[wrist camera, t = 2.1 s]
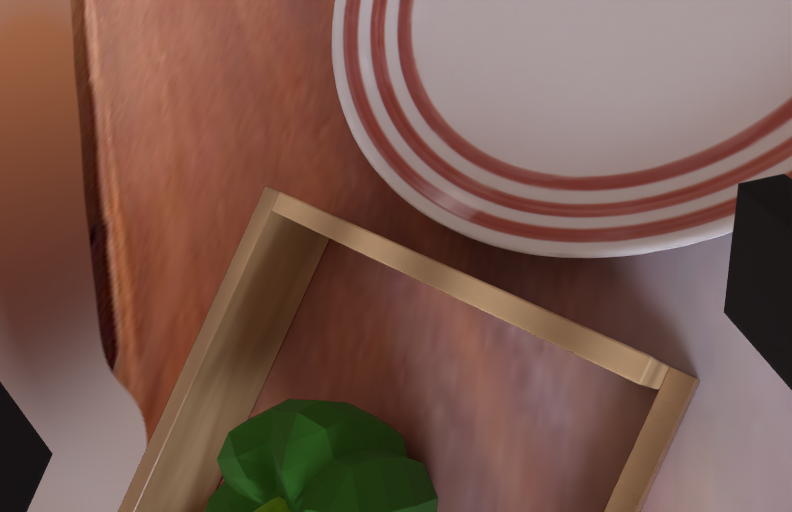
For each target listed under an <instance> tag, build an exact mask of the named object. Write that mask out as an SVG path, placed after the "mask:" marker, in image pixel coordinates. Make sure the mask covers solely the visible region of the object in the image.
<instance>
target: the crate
mask: <svg viewBox="0 0 792 512" xmlns="http://www.w3.org/2000/svg"><path fill="white" fill-rule="evenodd" d="M329 239H332V240H334V241H337V242H339V243H341V244H343V245H345V246H347V247H349V248H351V249H353V250H356V251H358V252H360V253H362V254H364V255H366V256H368V257H370V258H372V259H375V260H377V261H379V262H381V263H383V264H385V265H387V266H389V267H392V268H394V269H396V270H398V271H400V272H402V273H404V274H406V275H408V276H411V277H413V278H415V279H417V280H419V281H421V282H423V283H425V284H428V285H430V286H432V287H434V288H436V289H438V290H440V291H442V292H444V293H447V294H449V295H451V296H453V297H455V298H457V299H459V300H461V301H463V302H466V303H468V304H470V305H472V306H474V307H476V308H478V309H480V310H483V311H485V312H487V313H489V314H491V315H493V316H495V317H497V318H499V319H502V320H504V321H506V322H508V323H510V324H512V325H514V326H516V327H518V328H521V329H523V330H525V331H527V332H529V333H531V334H533V335H535V336H538V337H540V338H542V339H544V340H546V341H548V342H550V343H552V344H554V345H557V346H559V347H561V348H563V349H565V350H567V351H569V352H571V353H573V354H576V355H578V356H580V357H582V358H584V359H586V360H588V361H590V362H593V363H595V364H597V365H599V366H601V367H603V368H605V369H607V370H609V371H612V372H614V373H616V374H618V375H620V376H622V377H624V378H626V379H629V380H631V381H633V382H635V383H637V384H640V385H643V386H647V387H650V388H653V389H657V390H659V391H658V393H657V395H656V397H655V400H654V402H653V404H652V406H651V408H650V411H649V413H648V415H647V417H646V419H645V422H644V424H643V426H642V428H641V430H640V433H639V435H638V437H637V439H636V441H635V443H634V446H633V448H632V450H631V452H630V454H629V457H628V459H627V461H626V463H625V465H624V468H623V470H622V472H621V474H620V476H619V479H618V481H617V483H616V485H615V487H614V489H613V492H612V494H611V496H610V498H609V500H608V503H607V505H606V507H605V509H604V511H603V512H640V511H641V509H642V506H643V504H644V502H645V500H646V498H647V496H648V493H649V491H650V489H651V487H652V485H653V482H654V480H655V478H656V476H657V474H658V471H659V469H660V467H661V465H662V463H663V461H664V458H665V456H666V454H667V452H668V450H669V447H670V445H671V443H672V441H673V439H674V436H675V434H676V432H677V430H678V428H679V425H680V423H681V421H682V419H683V417H684V415H685V412H686V410H687V408H688V406H689V404H690V401H691V399H692V397H693V395H694V393H695V390H696V388H697V386H698V384H699V382H700V380H699V379H697V378H696V377H693V376H691V375H689V374H687V373H684V372H682V371H680V370H678V369H675V368H673V367H670V366H668V365H667V364H665V363H663V362H661V361H659V360H658V359H656V358H654V357H652V356H650V355H648V354H646V353H644V352H641V351H639V350H637V349H634V348H632V347H630V346H628V345H625V344H623V343H621V342H619V341H616V340H614V339H612V338H610V337H607V336H605V335H603V334H601V333H598V332H596V331H594V330H592V329H589V328H587V327H585V326H583V325H580V324H578V323H576V322H574V321H571V320H569V319H567V318H565V317H562V316H560V315H558V314H556V313H553V312H551V311H549V310H546V309H544V308H542V307H540V306H537V305H535V304H533V303H531V302H528V301H526V300H524V299H522V298H519V297H517V296H515V295H513V294H510V293H508V292H506V291H504V290H501V289H499V288H497V287H495V286H492V285H490V284H488V283H486V282H483V281H481V280H479V279H477V278H474V277H472V276H470V275H468V274H465V273H463V272H461V271H458V270H456V269H454V268H452V267H449V266H447V265H445V264H443V263H440V262H438V261H436V260H434V259H431V258H429V257H427V256H425V255H422V254H420V253H418V252H416V251H413V250H411V249H409V248H407V247H404V246H402V245H400V244H398V243H395V242H393V241H391V240H389V239H386V238H384V237H382V236H380V235H377V234H375V233H373V232H370V231H368V230H366V229H364V228H361V227H359V226H357V225H355V224H352V223H350V222H348V221H346V220H343V219H341V218H339V217H337V216H334V215H332V214H330V213H328V212H325V211H323V210H321V209H319V208H316V207H314V206H312V205H310V204H307V203H305V202H303V201H301V200H298V199H296V198H294V197H291V196H289V195H287V194H285V193H282V192H280V191H278V190H276V189H273V188H271V187H269V186H265V188H264V190H263V192H262V194H261V197H260V199H259V201H258V203H257V206H256V208H255V210H254V212H253V214H252V217H251V219H250V221H249V223H248V225H247V228H246V230H245V232H244V234H243V236H242V239H241V241H240V243H239V245H238V248H237V250H236V252H235V254H234V256H233V259H232V261H231V263H230V265H229V267H228V270H227V272H226V274H225V276H224V278H223V281H222V283H221V285H220V287H219V289H218V292H217V294H216V296H215V298H214V301H213V303H212V305H211V307H210V309H209V312H208V314H207V316H206V318H205V320H204V323H203V325H202V327H201V329H200V331H199V334H198V336H197V338H196V340H195V343H194V345H193V347H192V349H191V351H190V354H189V356H188V358H187V360H186V362H185V365H184V367H183V369H182V371H181V373H180V376H179V378H178V380H177V382H176V384H175V387H174V389H173V391H172V393H171V396H170V398H169V400H168V402H167V404H166V407H165V409H164V411H163V413H162V415H161V418H160V420H159V422H158V424H157V426H156V429H155V431H154V433H153V435H152V438H151V440H150V442H149V444H148V446H147V449H146V451H145V453H144V455H143V457H142V460H141V462H140V464H139V466H138V468H137V471H136V473H135V475H134V477H133V480H132V482H131V484H130V486H129V488H128V491H127V493H126V495H125V497H124V500H123V502H122V504H121V506H120V508H119V511H118V512H205V509H206V506H207V503H208V500H209V498H210V497H211V496H212V495H213V494H214V493H215V490H216V488H217V486H218V484H219V482H220V479H221V477H222V472H221V470H220V467H219V464H218V461H217V458H218V455H219V453H220V451H221V448H222V446H223V444H224V442H225V439H226V437H227V435H228V432H230V431H231V430H233V429H234V428H236V427H237V426H239V425H240V424H242V423H243V422H245V421H247V420H248V418H249V415H250V413H251V411H252V409H253V407H254V404H255V402H256V400H257V398H258V396H259V393H260V391H261V389H262V387H263V385H264V382H265V380H266V378H267V376H268V374H269V371H270V369H271V367H272V365H273V362H274V360H275V358H276V356H277V354H278V351H279V349H280V347H281V345H282V343H283V340H284V338H285V336H286V334H287V332H288V329H289V327H290V325H291V323H292V321H293V318H294V316H295V314H296V312H297V310H298V307H299V305H300V303H301V301H302V299H303V296H304V294H305V292H306V290H307V287H308V285H309V283H310V281H311V279H312V276H313V274H314V272H315V270H316V268H317V265H318V263H319V261H320V259H321V257H322V254H323V252H324V250H325V248H326V246H327V243H328V241H329Z"/></svg>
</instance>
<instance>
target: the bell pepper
mask: <svg viewBox="0 0 792 512" xmlns="http://www.w3.org/2000/svg"><path fill="white" fill-rule="evenodd" d="M217 461H218V464H219V467H220V470H221V472H222V475H223V478H224V481H225V482H224V483H223V484H222V485H221V486H220V487H219V488H218V490H217V491H216V492H215V493H214V494H213V495H212V496H211V497H210V498H209V500H208V503H207V506H206V509H205V512H437V503H438V497H437V494H436V492H435V489H434V487H433V485H432V482H431V480H430V477H429V475H428V472H427V470H426V467H425V465H424V463H421V462H419V461H416V460H413V459H410V458H408V457H407V452H406V447H405V443H404V440H403V437H402V435H401V434H399V433H398V432H397V431H396V430H394V429H393V428H392V427H391V426H389V425H388V424H387V423H385V422H383V421H382V420H380V419H379V418H377V417H375V416H374V415H372V414H370V413H368V412H366V411H364V410H362V409H360V408H357V407H355V406H353V405H351V404H349V403H344V402H333V401H321V400H298V399H287V400H286V401H284V402H282V403H280V404H278V405H276V406H274V407H272V408H270V409H268V410H266V411H264V412H262V413H261V414H259V415H257V416H255V417H253V418H251V419H249V420H247V421H245V422H243V423H242V424H240V425H239V426H237V427H236V428H234V429H233V430H231V431H230V432H228V435H227V437H226V439H225V442H224V444H223V446H222V448H221V451H220V453H219V455H218V458H217Z"/></svg>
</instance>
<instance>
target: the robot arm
mask: <svg viewBox="0 0 792 512" xmlns="http://www.w3.org/2000/svg"><path fill="white" fill-rule="evenodd" d="M724 313H725V314H726V315H727V316H728V317H729V319H730V320H731V321H732V322H733V323H734V324H735V325H736V327H737V328H738V329H739V330H740V331H741V332H742V333H743V335H744V336H745V337H746V338H747V339H748V340H749V342H750V343H751V344H752V345H753V346H754V347H755V348H756V350H757V351H758V352H759V353H760V354H761V355H762V356H763V358H764V359H765V360H766V361H767V362H768V363H769V365H770V366H771V367H772V368H773V369H774V370H775V371H776V373H777V374H778V375H779V376H780V377H781V378H782V379H783V381H784V382H785V383H786V384H787V385H788V386H789V387H790V389H791V390H792V179H791V178H790V177H788V176H787V175H785V174H780V175H775V176H770V177H766V178H761V179H757V180H752V181H747V182H743V183H738V190H737V199H736V208H735V217H734V226H733V235H732V244H731V253H730V262H729V271H728V280H727V289H726V298H725V307H724ZM51 456H52V452H51V451H50V450H49V448H48V447H47V446H46V444H45V443H44V441H43V440H42V439H41V437H40V436H39V434H38V433H37V432H36V430H35V429H34V428H33V426H32V425H31V423H30V422H29V421H28V419H27V418H26V417H25V415H24V414H23V412H22V411H21V410H20V408H19V407H18V406H17V404H16V403H15V401H14V400H13V399H12V397H11V396H10V395H9V393H8V392H7V390H6V389H5V388H4V386H3V385H2V383H1V382H0V512H27V510H28V508H29V505H30V503H31V501H32V499H33V497H34V494H35V492H36V490H37V488H38V485H39V483H40V481H41V479H42V476H43V474H44V472H45V469H46V467H47V465H48V463H49V461H50V458H51Z"/></svg>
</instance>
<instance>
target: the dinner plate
mask: <svg viewBox="0 0 792 512" xmlns="http://www.w3.org/2000/svg"><path fill="white" fill-rule="evenodd" d="M332 62H333V70H334V76H335V82H336V87H337V93H338V97H339V100H340V103H341V107H342V110H343V112H344V115H345V118H346V120H347V123H348V125H349V127H350V130H351V132H352V135H353V137H354V139H355V140H356V142H357V144H358V146H359V147H360V149H361V151H362V152H363V154H364V155H365V157H366V158H367V160H368V161H369V163H370V164H371V166H372V167H373V168H374V169H375V170H376V172H377V173H378V174H379V175H380V176H381V177H382V178H383V179H384V181H385V182H386V183H387V184H388V185H389V186H390V187H391V188H392V189H393V190H394V191H395V192H396V193H397V194H398V195H399V196H400V197H402V198H403V199H404V200H405V201H406V202H408V203H409V204H410V205H412V206H413V207H414V208H416V209H417V210H418V211H420V212H421V213H422V214H424V215H426V216H427V217H429V218H431V219H432V220H434V221H435V222H437V223H439V224H441V225H443V226H445V227H447V228H449V229H451V230H453V231H455V232H457V233H460V234H462V235H464V236H467V237H469V238H471V239H474V240H477V241H480V242H483V243H486V244H489V245H492V246H495V247H499V248H503V249H507V250H511V251H515V252H520V253H526V254H532V255H539V256H551V257H560V258H605V257H620V256H630V255H639V254H645V253H651V252H656V251H661V250H667V249H672V248H678V247H683V246H687V245H691V244H694V243H698V242H702V241H705V240H709V239H712V238H716V237H720V236H723V235H726V234H728V233H731V232H733V226H734V217H735V208H736V199H737V190H738V183H743V182H747V181H752V180H757V179H761V178H766V177H770V176H775V175H780V174H785V175H787V176H788V177H790V178H791V179H792V0H335V4H334V13H333V23H332Z"/></svg>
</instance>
